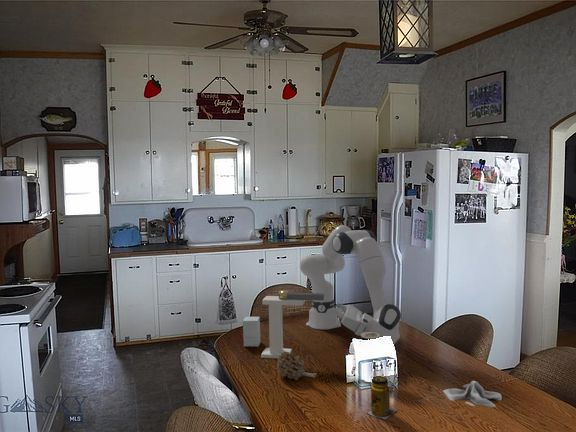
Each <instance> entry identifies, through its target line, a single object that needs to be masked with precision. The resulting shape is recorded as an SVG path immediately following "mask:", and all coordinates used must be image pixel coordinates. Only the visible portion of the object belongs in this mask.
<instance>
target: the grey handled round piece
mask: <svg viewBox="0 0 576 432" xmlns="http://www.w3.org/2000/svg"><path fill="white" fill-rule="evenodd" d="M276 359H277V360H276V361H277V362H276V365H277V367H276V369H277V371H278V372H279V373H281V375H282V376H283V377H287V379H289V380H292V379H294V380H295V381H298V380H299V379H300V378H302V377H303V376H305V377H310V378H313V379H314V378H317V375H318V374H317V372H313V373H310V372H306V369H307V367H306V362H305V360H302V358H301V357H300V356H299V355H296V353H294V352H291V353H289V352H284V353H282V354H281V355H280V356H279V358H276Z"/></svg>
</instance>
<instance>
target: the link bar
mask: <svg viewBox="0 0 576 432" xmlns="http://www.w3.org/2000/svg"><path fill="white" fill-rule="evenodd" d="M278 296H279V299H281V300H286V299H289V300H305V301H312V300H322V301H324V294H323V293H313V292H290V291H289V290H286V289H285V290H284V289H283V290H279V291H278Z"/></svg>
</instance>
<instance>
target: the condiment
mask: <svg viewBox="0 0 576 432" xmlns="http://www.w3.org/2000/svg"><path fill="white" fill-rule="evenodd" d="M370 393H371V394H370V395H371V396H370V398H371V400H370V401H371V403H370V408H371V409H370V410H369V411H367V412H366V414H368V415H371V416H372V417H376V418H379V419H383V420H387V419H388V418H389V417H391V416H392V415H393V414H394V413H396V412H397V411H398V409H396V408H392V407H390V387H389V379H388V378H387V377H386V376H382V375H381V376H376V377H373V379H372V383H371V386H370Z"/></svg>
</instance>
